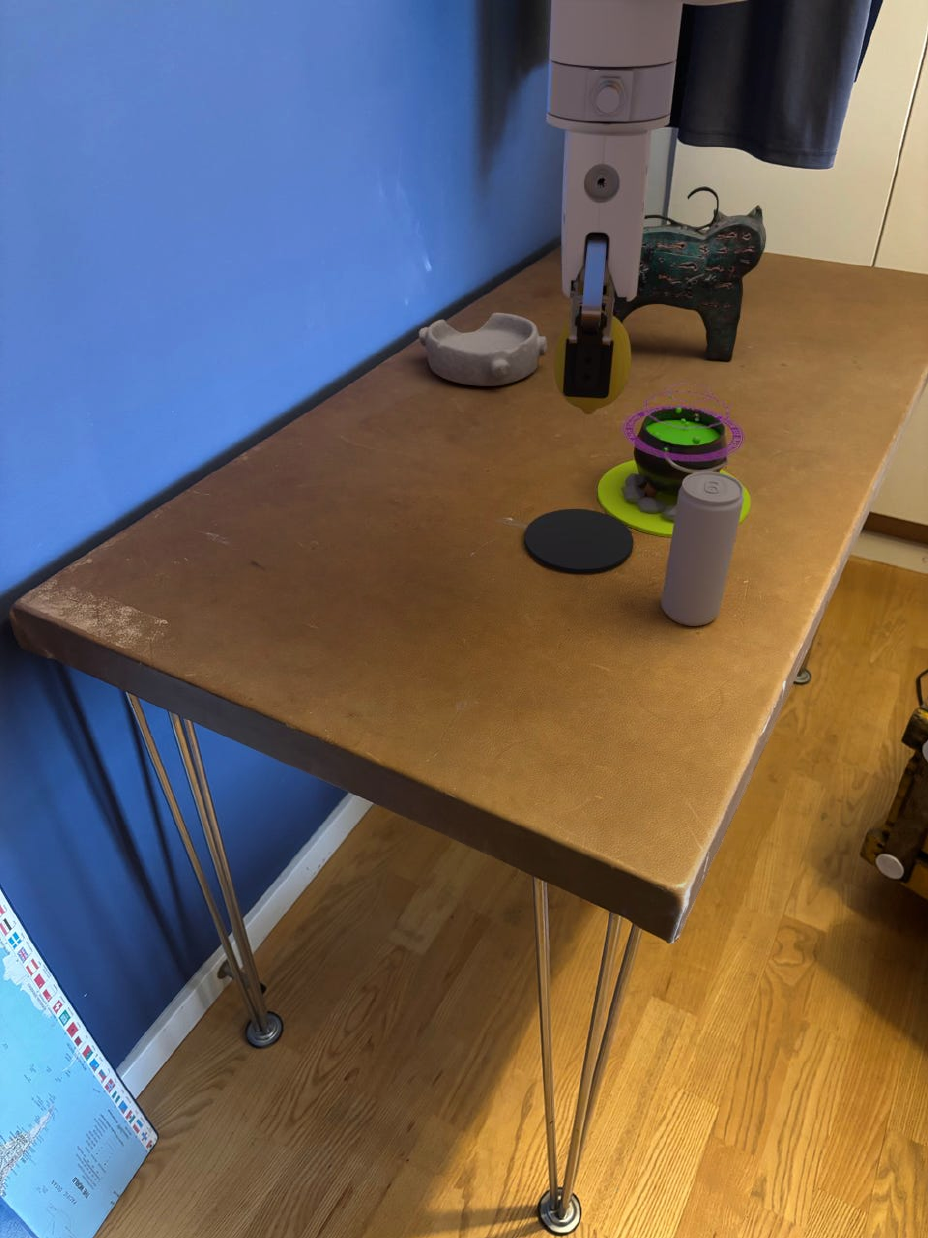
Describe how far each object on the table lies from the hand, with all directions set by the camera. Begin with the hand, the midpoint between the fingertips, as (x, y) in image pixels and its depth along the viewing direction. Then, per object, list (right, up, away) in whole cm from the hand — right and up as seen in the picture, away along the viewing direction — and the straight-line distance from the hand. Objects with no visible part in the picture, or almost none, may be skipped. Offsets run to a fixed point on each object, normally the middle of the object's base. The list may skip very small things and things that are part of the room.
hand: (587, 374), depth 66 cm
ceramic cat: (+17, +17, +52) cm, 57 cm away
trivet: (+2, -11, +18) cm, 21 cm away
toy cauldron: (+12, -6, +24) cm, 28 cm away
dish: (-6, +14, +49) cm, 51 cm away
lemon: (0, -3, +2) cm, 3 cm away
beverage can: (+10, -17, +10) cm, 22 cm away
